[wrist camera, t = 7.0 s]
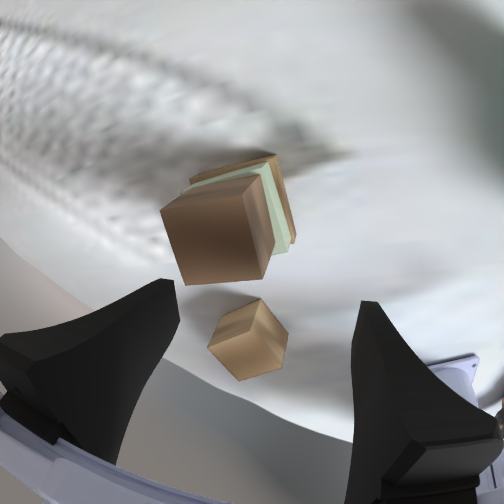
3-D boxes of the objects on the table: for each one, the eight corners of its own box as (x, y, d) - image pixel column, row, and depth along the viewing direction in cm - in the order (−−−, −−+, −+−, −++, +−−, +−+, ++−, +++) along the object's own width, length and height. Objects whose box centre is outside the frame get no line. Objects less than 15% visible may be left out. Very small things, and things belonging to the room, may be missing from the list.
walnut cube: (275, 242, 18) (262, 279, 14) (211, 250, 19) (185, 285, 15) (260, 174, 16) (241, 194, 13) (192, 187, 17) (159, 210, 14)
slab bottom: (296, 231, 21) (294, 243, 20) (223, 243, 23) (214, 256, 21) (277, 153, 19) (272, 158, 18) (200, 172, 21) (189, 179, 19)
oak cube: (288, 333, 25) (281, 368, 22) (249, 348, 27) (239, 381, 23) (261, 297, 24) (249, 330, 21) (222, 315, 26) (206, 347, 22)
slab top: (291, 238, 20) (287, 252, 18) (219, 253, 21) (209, 267, 19) (268, 161, 18) (261, 167, 16) (193, 183, 19) (180, 191, 18)
